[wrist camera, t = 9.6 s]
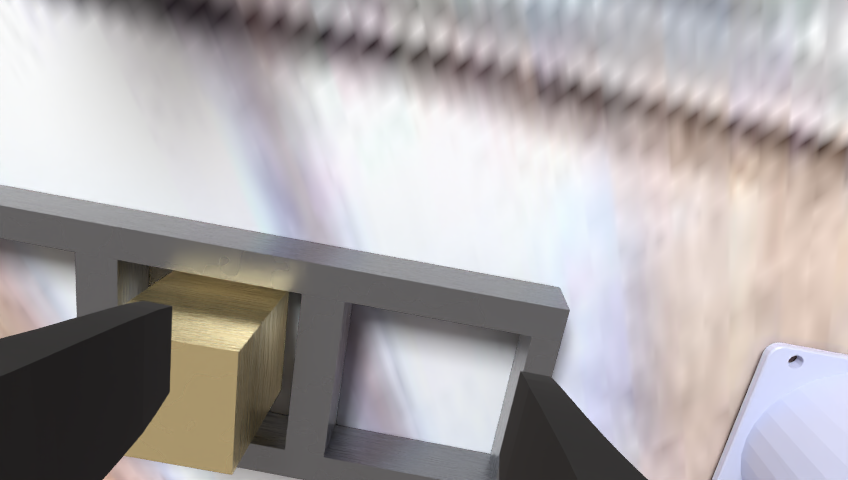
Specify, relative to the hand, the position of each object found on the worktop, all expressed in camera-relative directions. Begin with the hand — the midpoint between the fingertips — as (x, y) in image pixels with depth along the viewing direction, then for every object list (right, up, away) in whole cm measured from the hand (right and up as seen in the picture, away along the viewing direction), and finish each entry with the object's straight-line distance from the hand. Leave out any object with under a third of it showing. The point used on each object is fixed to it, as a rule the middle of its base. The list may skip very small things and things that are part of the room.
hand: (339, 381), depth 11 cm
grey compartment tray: (-6, -1, +11) cm, 12 cm away
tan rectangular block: (-6, -1, +11) cm, 12 cm away
